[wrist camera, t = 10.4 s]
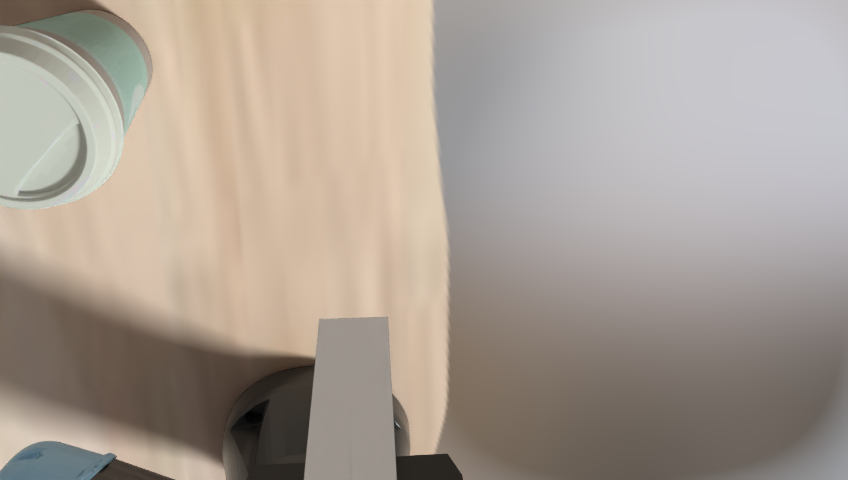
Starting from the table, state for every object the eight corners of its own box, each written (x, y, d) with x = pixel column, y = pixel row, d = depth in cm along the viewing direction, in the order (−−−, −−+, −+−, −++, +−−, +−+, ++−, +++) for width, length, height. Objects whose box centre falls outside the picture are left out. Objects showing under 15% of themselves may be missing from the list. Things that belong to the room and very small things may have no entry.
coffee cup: (66, 140, 42) (-34, 236, 32) (-4, 1, 38) (-145, 59, 27) (197, 112, 42) (140, 201, 31) (143, -31, 37) (55, 16, 27)
